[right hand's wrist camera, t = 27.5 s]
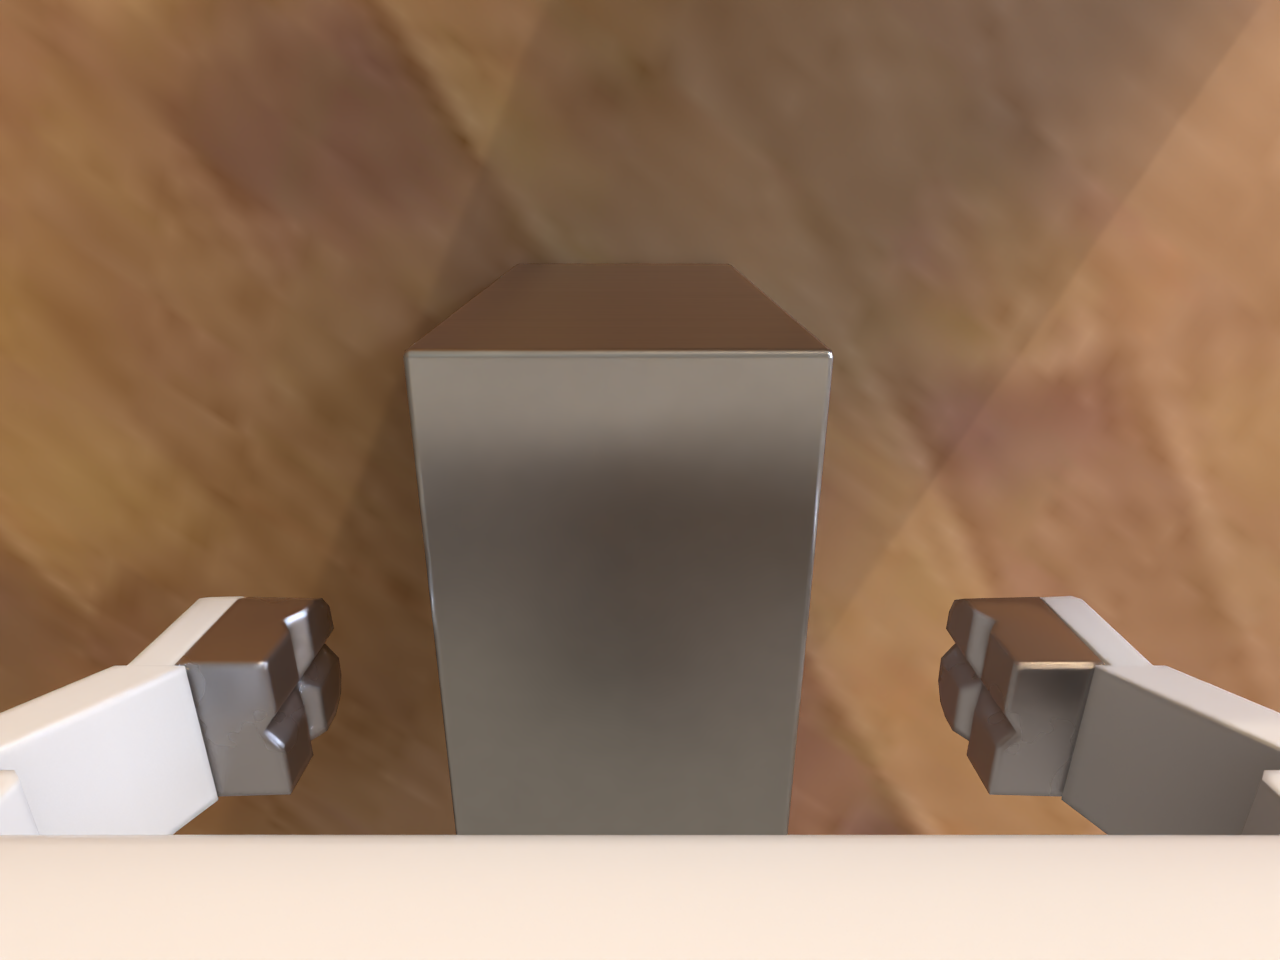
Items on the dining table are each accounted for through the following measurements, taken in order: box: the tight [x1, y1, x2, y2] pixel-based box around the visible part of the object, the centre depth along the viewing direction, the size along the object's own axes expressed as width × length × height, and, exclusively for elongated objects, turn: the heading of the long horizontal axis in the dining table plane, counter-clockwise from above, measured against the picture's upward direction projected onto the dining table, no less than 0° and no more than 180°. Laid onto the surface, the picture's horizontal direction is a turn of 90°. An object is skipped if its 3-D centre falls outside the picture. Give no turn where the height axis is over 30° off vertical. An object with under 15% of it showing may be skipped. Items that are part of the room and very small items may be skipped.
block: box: [403, 264, 833, 835], centre depth 14 cm, size 5×8×9 cm, turn 0°
